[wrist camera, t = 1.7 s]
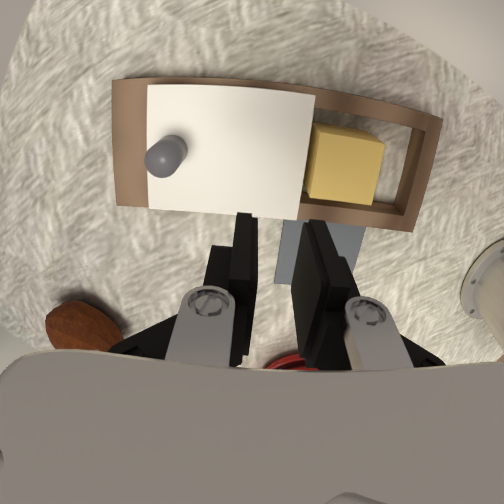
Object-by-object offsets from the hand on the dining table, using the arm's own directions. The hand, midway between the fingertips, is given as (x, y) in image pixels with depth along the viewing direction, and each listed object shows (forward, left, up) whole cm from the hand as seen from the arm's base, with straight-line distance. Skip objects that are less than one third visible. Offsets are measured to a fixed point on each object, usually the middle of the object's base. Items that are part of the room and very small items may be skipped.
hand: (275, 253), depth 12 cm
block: (-6, 0, -17) cm, 18 cm away
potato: (+20, +22, -17) cm, 34 cm away
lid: (+3, 0, -14) cm, 15 cm away
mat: (-6, +10, -17) cm, 21 cm away
